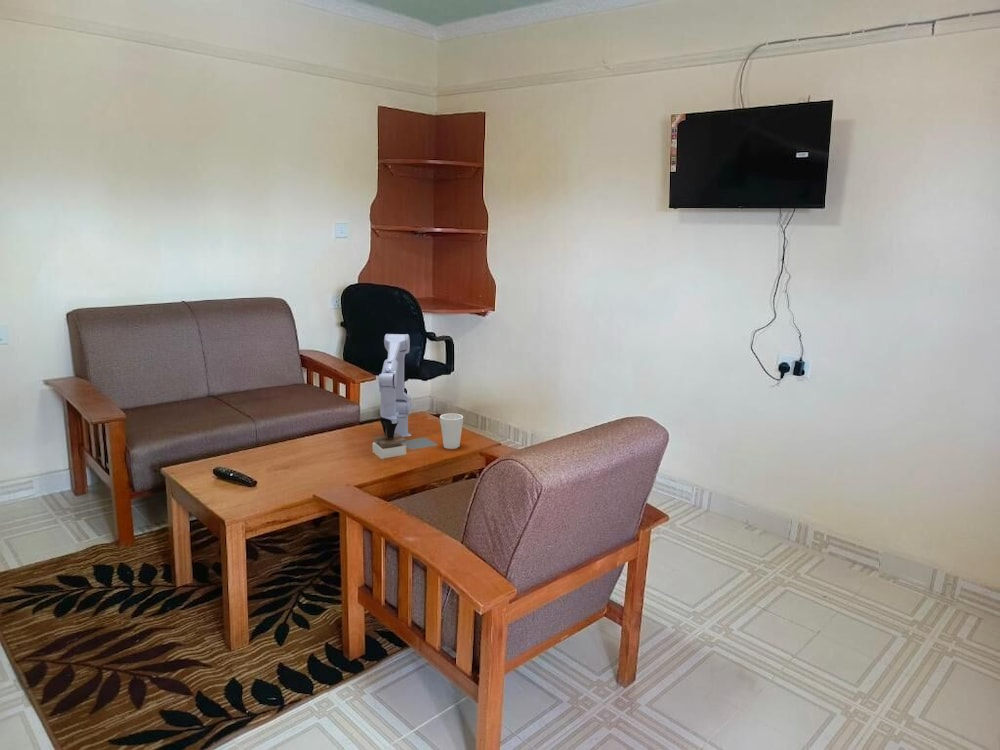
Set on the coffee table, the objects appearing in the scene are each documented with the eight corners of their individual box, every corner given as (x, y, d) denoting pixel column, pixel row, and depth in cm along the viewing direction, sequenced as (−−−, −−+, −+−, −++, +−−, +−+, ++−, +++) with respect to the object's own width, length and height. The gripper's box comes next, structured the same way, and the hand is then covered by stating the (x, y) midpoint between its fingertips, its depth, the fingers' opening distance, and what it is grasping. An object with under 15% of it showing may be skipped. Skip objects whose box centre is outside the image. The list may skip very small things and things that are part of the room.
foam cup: (464, 444, 291) (464, 414, 288) (461, 451, 282) (461, 420, 279) (442, 443, 291) (441, 413, 289) (437, 450, 282) (437, 419, 280)
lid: (374, 439, 279) (373, 427, 278) (396, 435, 283) (396, 423, 282) (382, 446, 271) (382, 434, 269) (405, 441, 275) (405, 429, 274)
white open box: (372, 452, 280) (372, 442, 279) (396, 448, 285) (395, 438, 284) (382, 459, 271) (382, 449, 270) (406, 455, 276) (406, 445, 275)
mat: (399, 442, 292) (399, 441, 292) (425, 438, 298) (425, 437, 298) (411, 450, 282) (411, 449, 282) (438, 446, 288) (438, 445, 288)
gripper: (404, 406, 269) (405, 440, 272) (391, 397, 281) (392, 430, 284) (387, 408, 266) (387, 442, 269) (374, 399, 278) (375, 432, 281)
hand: (389, 436), depth 276 cm, fingers closed on lid, 3 cm apart
